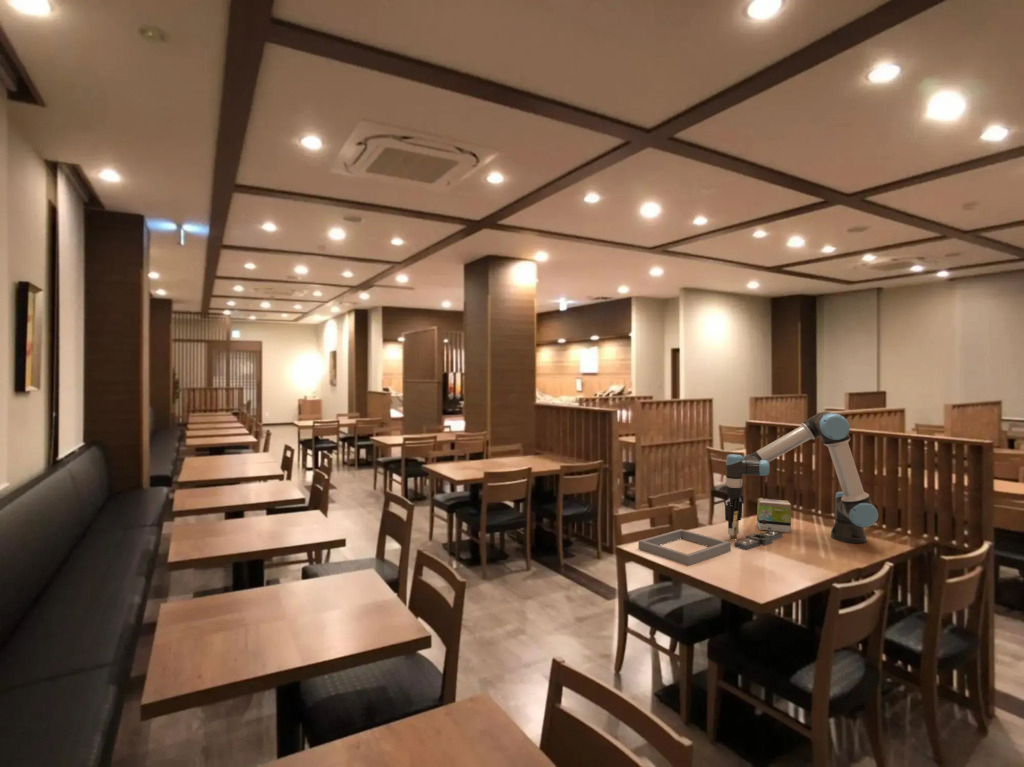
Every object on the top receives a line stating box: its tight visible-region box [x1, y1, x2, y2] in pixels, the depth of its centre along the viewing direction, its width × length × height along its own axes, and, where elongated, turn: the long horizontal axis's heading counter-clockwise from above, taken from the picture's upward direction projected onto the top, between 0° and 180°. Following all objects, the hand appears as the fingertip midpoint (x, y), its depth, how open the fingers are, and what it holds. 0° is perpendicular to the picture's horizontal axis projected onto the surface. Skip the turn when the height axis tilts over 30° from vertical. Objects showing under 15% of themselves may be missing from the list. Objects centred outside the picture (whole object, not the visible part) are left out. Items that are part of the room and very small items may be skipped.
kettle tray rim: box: [637, 528, 732, 566], centre depth 259 cm, size 27×32×4 cm
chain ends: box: [733, 530, 784, 551], centre depth 272 cm, size 9×33×2 cm, turn 128°
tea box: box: [756, 498, 792, 534], centre depth 294 cm, size 15×10×15 cm, turn 73°
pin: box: [729, 510, 738, 541], centre depth 276 cm, size 4×4×14 cm
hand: (733, 533), depth 276 cm, fingers closed on pin, 3 cm apart
